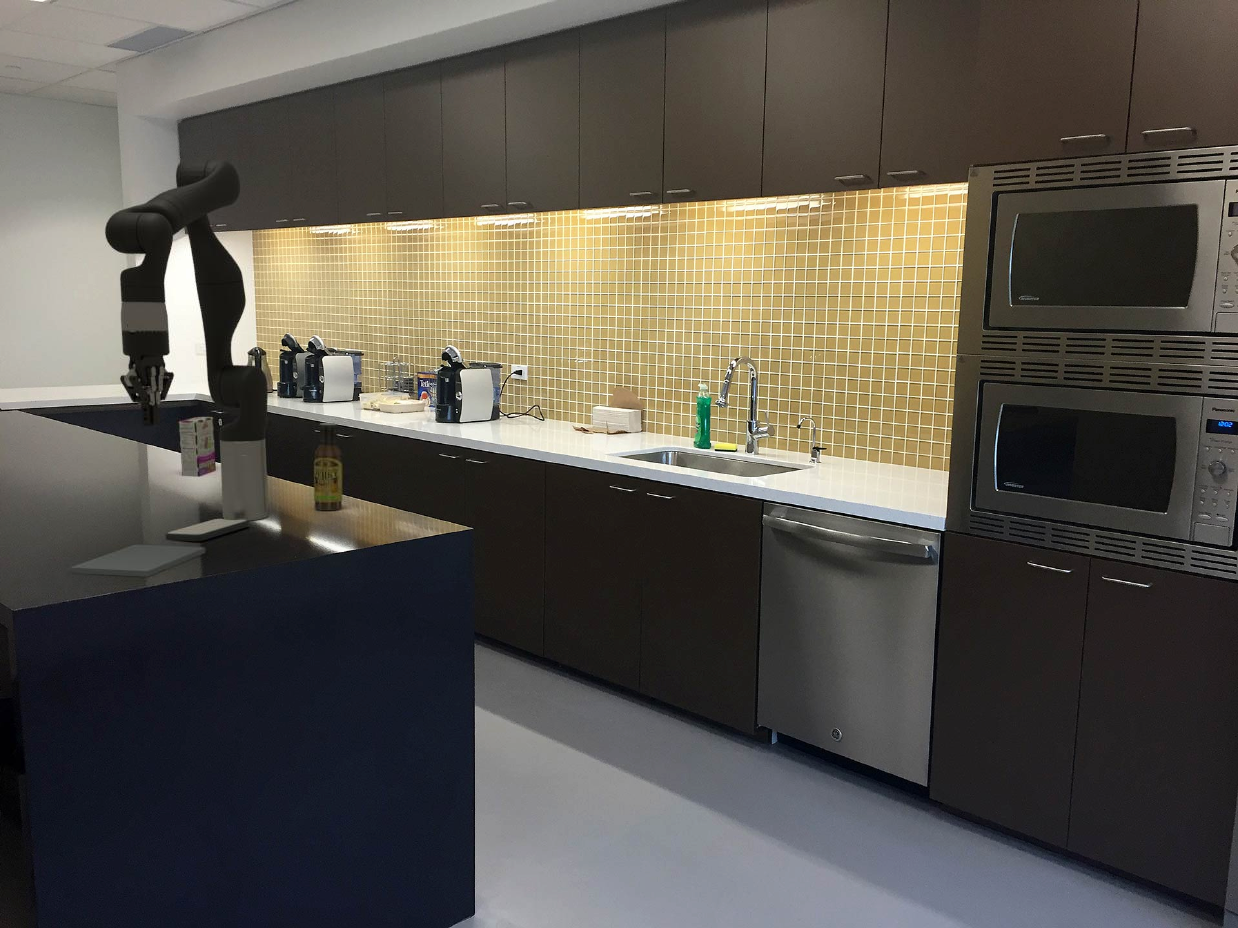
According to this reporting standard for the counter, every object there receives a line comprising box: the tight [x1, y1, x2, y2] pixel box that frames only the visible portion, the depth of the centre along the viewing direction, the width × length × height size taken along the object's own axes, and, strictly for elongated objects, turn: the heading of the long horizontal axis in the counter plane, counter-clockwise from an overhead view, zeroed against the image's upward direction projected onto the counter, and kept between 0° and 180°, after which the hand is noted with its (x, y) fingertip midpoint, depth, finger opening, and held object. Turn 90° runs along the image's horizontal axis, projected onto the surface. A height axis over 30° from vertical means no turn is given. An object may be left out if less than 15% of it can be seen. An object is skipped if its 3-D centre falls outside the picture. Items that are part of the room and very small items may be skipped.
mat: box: [69, 544, 206, 578], centre depth 175 cm, size 18×14×1 cm
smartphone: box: [165, 518, 250, 542], centre depth 199 cm, size 9×2×16 cm
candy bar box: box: [178, 416, 217, 478], centre depth 268 cm, size 11×5×16 cm, turn 179°
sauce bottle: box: [313, 422, 343, 511], centre depth 226 cm, size 6×6×20 cm
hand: (150, 425), depth 176 cm, fingers closed
